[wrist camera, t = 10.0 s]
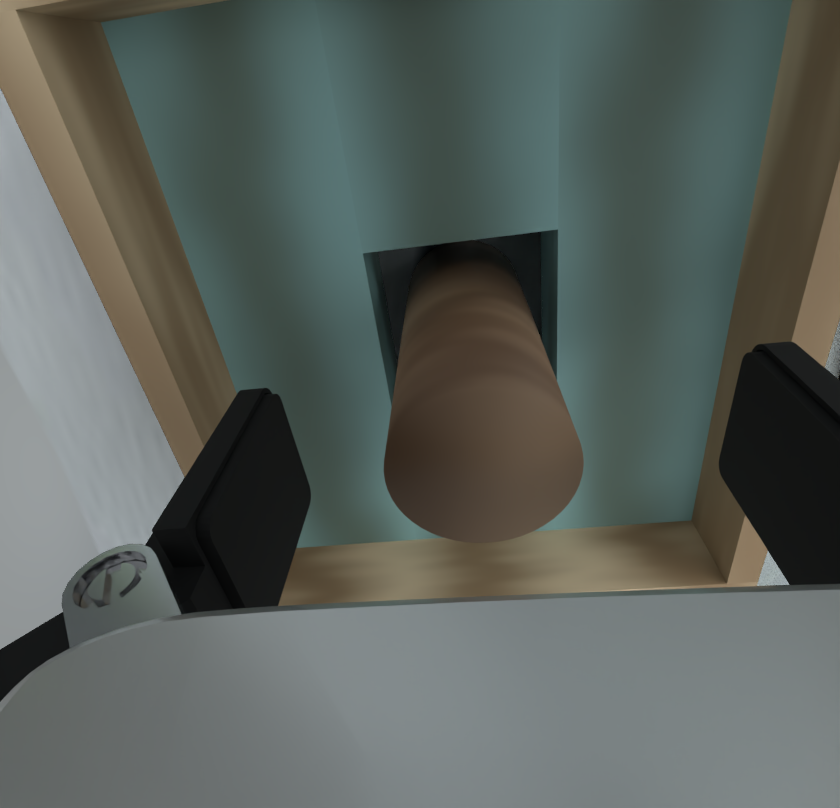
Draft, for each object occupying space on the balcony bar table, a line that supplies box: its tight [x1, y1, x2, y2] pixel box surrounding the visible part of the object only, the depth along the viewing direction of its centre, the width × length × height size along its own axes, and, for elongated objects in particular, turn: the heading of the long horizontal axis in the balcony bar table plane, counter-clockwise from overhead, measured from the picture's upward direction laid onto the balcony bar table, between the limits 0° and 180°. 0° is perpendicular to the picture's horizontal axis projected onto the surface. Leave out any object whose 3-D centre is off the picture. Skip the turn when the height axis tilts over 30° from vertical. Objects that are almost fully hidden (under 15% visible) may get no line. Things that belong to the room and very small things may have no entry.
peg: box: [384, 240, 584, 543], centre depth 15 cm, size 4×4×10 cm
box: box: [0, 0, 840, 606], centre depth 17 cm, size 18×20×6 cm
